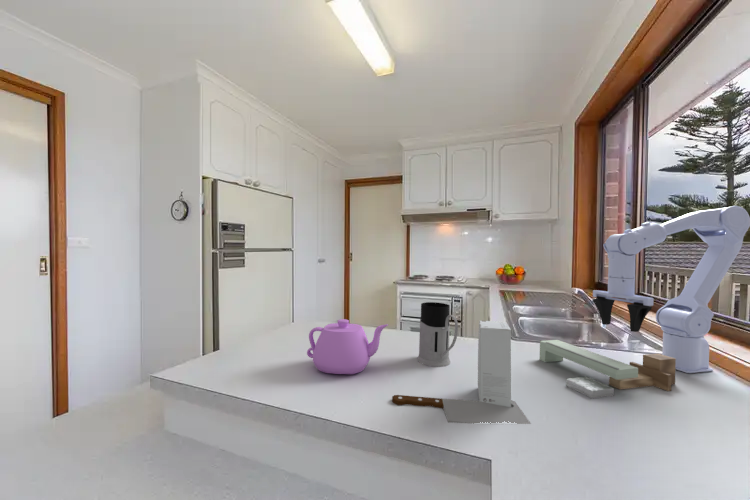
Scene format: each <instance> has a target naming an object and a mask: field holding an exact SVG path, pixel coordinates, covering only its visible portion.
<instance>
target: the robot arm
mask: <svg viewBox="0 0 750 500" xmlns="http://www.w3.org/2000/svg"><path fill="white" fill-rule="evenodd" d="M749 228H750V215H749V212H748V211H747V210H746V208H744V207H742V206H739V205H732V206H728V207H719V208H712V209H700V210H696V211H693V212H689V213H686V214H683V215H681V216H678V217H676V218H673V219H670V220H668V221H666V222H663V223H660V224H659V223H656V222H650V221H647V222H643V223H641V224H640V226H639V227H636V228H633V229H631V228H627V229H625V230H624V231H623V233H614V234H611V235H610V236H608V238H607V239H606V240H605V242H604V243H603V248H604V251H605V252H606V254H607V259H608V264H607V265H608V266H607V267H608V268H607V270H608V271H607V272H608V273H607V291H606V290H599V289H598V290H597V289H596V290H595V289H594V290H592V302H593V303H594V305H595V307H596V308H597V312H598V313H599V317H600V319H601V324H602V325H604V326H605V325H606V326H608V325H611V321H612V320H611V319H612V310H613V306H614V303H615V301H617V302H619V301H620V302H624V303H627V304H626V306H627V309H628V313H629V330H630V332H633V333H636V332H640V329H641V328H642V327H641V326H642V324H643V323H644V320H645V318H646V317H647V315H648V314H649V312H651V310H652V309H653V306H654V301H655V299H654V298H653V297H649V296H642V295H638V294H635V293H636V292H635V291H636V290H635V289H636V288H635V287H636V255H637V254H639V253H640V252H641V251H642V250H643V249H646V248H648V247H651V246H654V245H657V244H661V243H663V242H664V241H665V240H666V238H667V236H670V235H673V234H677V233H680V232H682V231H686V230H693V232H694V233H695V234H696V235H697V236H698V237H699V238H700V239H701V240H702V241H703V243H706V244H707V249H706V251H705V252H704V254H703V255H702V257H701V259H700V261H699V263H698V264H697V265H696V267H695V268H694V270H693V272H692V274H691V276H690V277H689V279H688V280H687V282H686V284H685V286H684V288H682V291H681V293H680V294H679V295H678V296H675V297H673V298H670V299H669V300H667V302H666V303H665V304H664V305H663V306H661V307H660V308H659V309H658V310H657V311H656V313H655V320H656V323H657V324H658V325H659V327H660V330H661V331H662V355H665V356H669V357H672V358H676V365H675V371H676V370H677V371H679V372H683V373H686V374H694V373H695V374H696V373H705V372H712V371H714V369H713V368H711V367H710V365H709V364H710V363H709V362H710V344H709V342H708V340H707V339H706V338H705V335H707V334H709V331H710V330H711V327H712V319H713V318H714V315H715V314H714V312H713V311H712V310H711V309H710V307H709V306H708V304H709V303H710V301H711V299H712V298H713V296H714V294H715V293H716V291H717V289H718V287H719V286H720V285H721V283H722V281H723V279H724V277H725V276H726V275H727V273H728V272H729V271H728V270H729V269H730V268H731V266H732V264H733V262H734V261H735V259H736V257H737V256H738V254H739V252H740V251H741V249H742V247H743V243H744V237H745V235H746V234H747V231H748V230H749Z"/></svg>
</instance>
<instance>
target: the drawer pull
mask: <svg viewBox="0 0 750 500" xmlns="http://www.w3.org/2000/svg"><path fill="white" fill-rule="evenodd" d="M564 359H566V360H569V361H570V362H573V363H575V364H578V365H581V366H583V367H584V368H587V369H590V370H591V371H595V372H598V373H599V374H602V375H605V376H607V377H608V378H609V377H612V378H614V379H626V378H636V377H638V368H637V367H634V366H631V365H630V364H628V363H625V362H622V361H619V360H616V359H613V358H611V357H608V356H605V355H603V354H599V353H596V352H594V351H591V350H588V349H584V348H582V347H579V346H576V345H573V344H571V343H568V342H565V341H562V340H559V339H550V340H548V339H547V340H539V360H540V361H542V362H543V363H550V362H562V361H564Z"/></svg>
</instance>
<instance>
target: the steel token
mask: <svg viewBox="0 0 750 500" xmlns="http://www.w3.org/2000/svg"><path fill="white" fill-rule="evenodd" d="M565 382H566V383H565V386H566V387H567V386H568V388H569V387H570V388H569V389H572V390H573V389H574V391H575V390H576V392H577V391H578V393H579V394H582V395H583V396H585V397H588V398H590V399H599V398H607V397H613V396H614V393H615V391H614V390H615V387H613V386H611V385H609V384H605V383H603V382H601V381H598V380H596V379H594V378H592V377H590V376H579V377H572V378H571V377H570V378H566V380H565Z"/></svg>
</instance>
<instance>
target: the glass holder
mask: <svg viewBox="0 0 750 500" xmlns="http://www.w3.org/2000/svg"><path fill="white" fill-rule="evenodd" d="M450 310H451V309H450V304H448V303H444V302H435V301H434V302H433V301H432V302H431V301H429V302H422V303H421V304H420V319H419V320H420V321H419V343H418V344H419V345H418V355H417V362H418V363H420V364H422V365H423V366H428V367H433V368H436V367H437V368H442V367H447V366H449V365H450V364H451V360H450V351H451V350H452V349H453V347H454V346H455V343H456V341H457V337H458V335H459V333H458V331H459V323H458V320H457V317H456V316H455V315H453V314H450ZM451 318H452V320H454V321H453V322H454V333H453V334H454V336H453V339H452V342H451V344H450V332H451V331H450V330H451V326H450V325H451V324H450V319H451Z"/></svg>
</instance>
